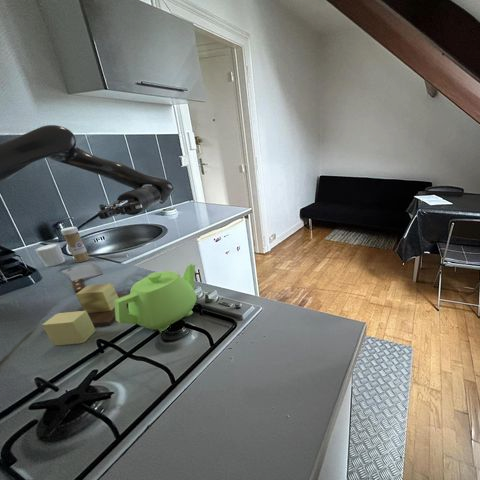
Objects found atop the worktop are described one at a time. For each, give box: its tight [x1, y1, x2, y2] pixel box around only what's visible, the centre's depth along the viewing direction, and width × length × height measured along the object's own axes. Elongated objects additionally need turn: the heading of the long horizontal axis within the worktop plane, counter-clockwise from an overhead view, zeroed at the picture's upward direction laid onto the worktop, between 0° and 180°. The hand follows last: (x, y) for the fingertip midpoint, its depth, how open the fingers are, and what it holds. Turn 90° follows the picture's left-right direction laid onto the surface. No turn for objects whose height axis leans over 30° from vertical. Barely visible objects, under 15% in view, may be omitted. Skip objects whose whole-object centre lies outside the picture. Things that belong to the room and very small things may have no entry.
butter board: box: [75, 283, 130, 328], centre depth 69 cm, size 11×13×7 cm
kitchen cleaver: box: [60, 262, 103, 294], centre depth 89 cm, size 24×1×10 cm
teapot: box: [114, 263, 198, 333], centre depth 64 cm, size 20×13×13 cm
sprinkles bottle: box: [60, 226, 91, 263], centre depth 100 cm, size 5×5×14 cm
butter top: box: [41, 310, 97, 347], centre depth 60 cm, size 6×4×6 cm, turn 94°
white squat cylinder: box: [34, 243, 66, 268], centre depth 100 cm, size 7×7×7 cm
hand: (101, 215), depth 73 cm, fingers closed
